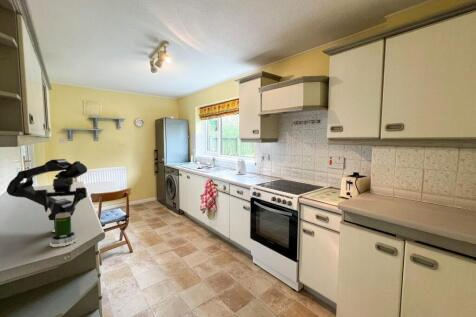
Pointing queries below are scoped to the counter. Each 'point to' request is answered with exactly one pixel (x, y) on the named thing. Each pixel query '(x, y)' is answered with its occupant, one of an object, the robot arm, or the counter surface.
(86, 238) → the counter surface
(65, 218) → the beer can
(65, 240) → the duct collar
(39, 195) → the robot arm
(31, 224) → the counter surface
